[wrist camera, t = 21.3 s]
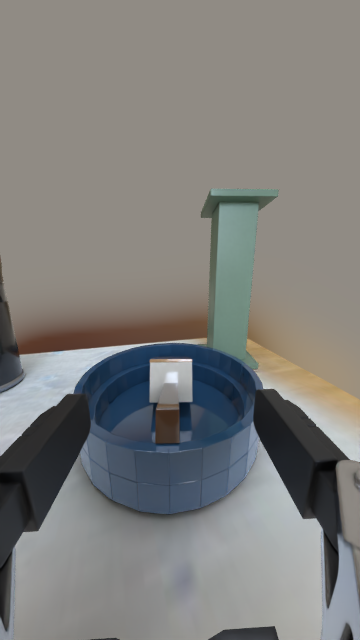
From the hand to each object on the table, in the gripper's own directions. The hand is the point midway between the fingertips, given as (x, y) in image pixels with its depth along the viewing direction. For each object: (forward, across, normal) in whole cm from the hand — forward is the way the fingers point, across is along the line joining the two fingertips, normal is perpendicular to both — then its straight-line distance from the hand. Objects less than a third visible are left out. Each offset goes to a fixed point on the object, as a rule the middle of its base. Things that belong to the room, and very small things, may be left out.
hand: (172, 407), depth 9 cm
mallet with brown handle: (+11, 0, +9) cm, 14 cm away
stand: (+32, -12, +12) cm, 36 cm away
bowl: (+14, 0, +12) cm, 18 cm away
